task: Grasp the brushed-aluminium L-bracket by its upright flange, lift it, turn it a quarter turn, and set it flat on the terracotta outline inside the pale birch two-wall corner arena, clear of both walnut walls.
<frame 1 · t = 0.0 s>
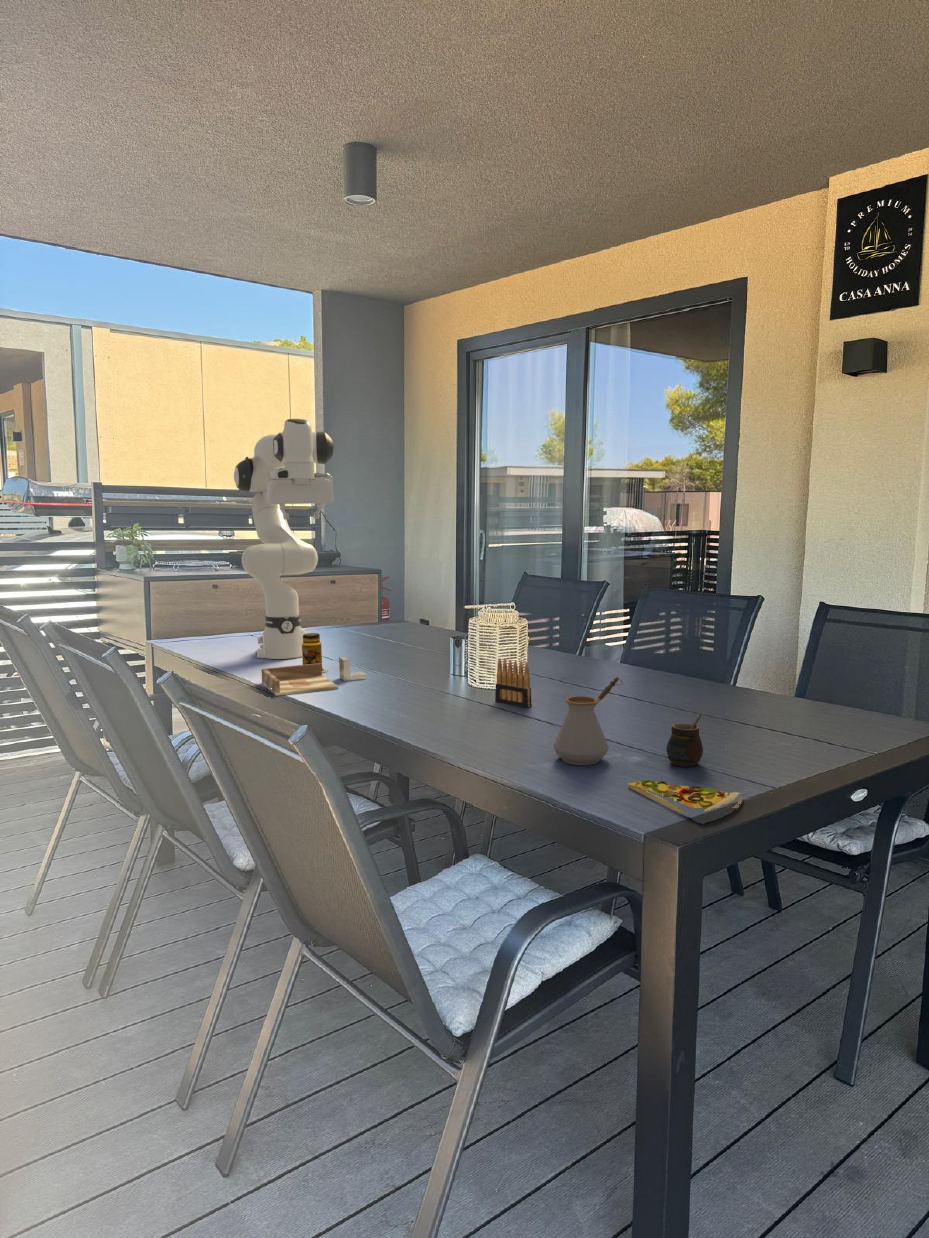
hand: (301, 519, 258), 48 cm above the table, fingers open, 8 cm apart
mate gourd: (684, 764, 174), on the table
bracket: (353, 678, 256), on the table
pizza slice: (677, 803, 154), on the table
ammunition clip: (513, 705, 223), on the table
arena: (299, 685, 247), on the table
coffee pot: (593, 754, 181), on the table
condiment: (312, 671, 268), on the table
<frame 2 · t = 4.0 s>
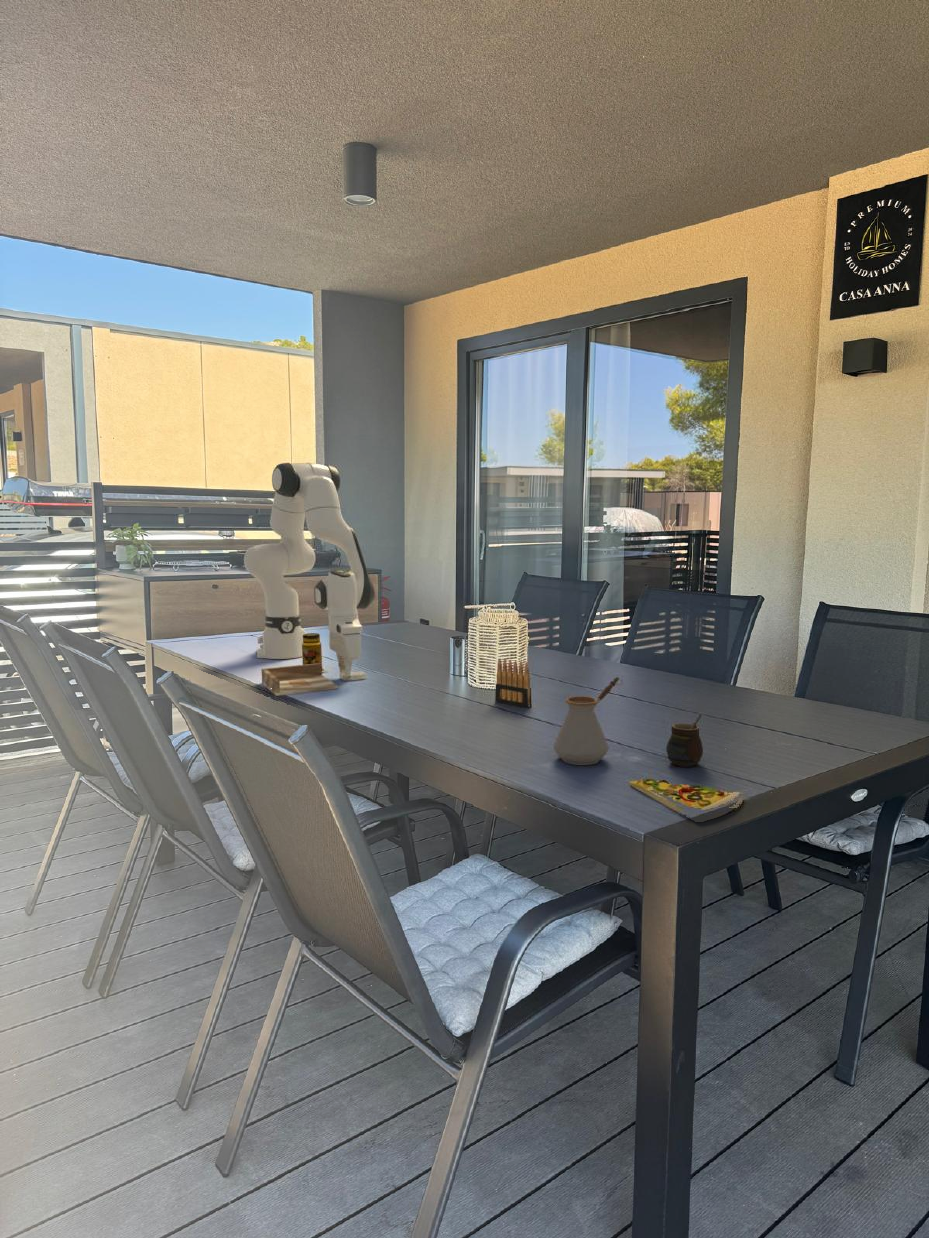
hand: (344, 669, 254), 3 cm above the table, fingers closed on bracket, 4 cm apart
bracket: (353, 678, 256), on the table, touching gripper
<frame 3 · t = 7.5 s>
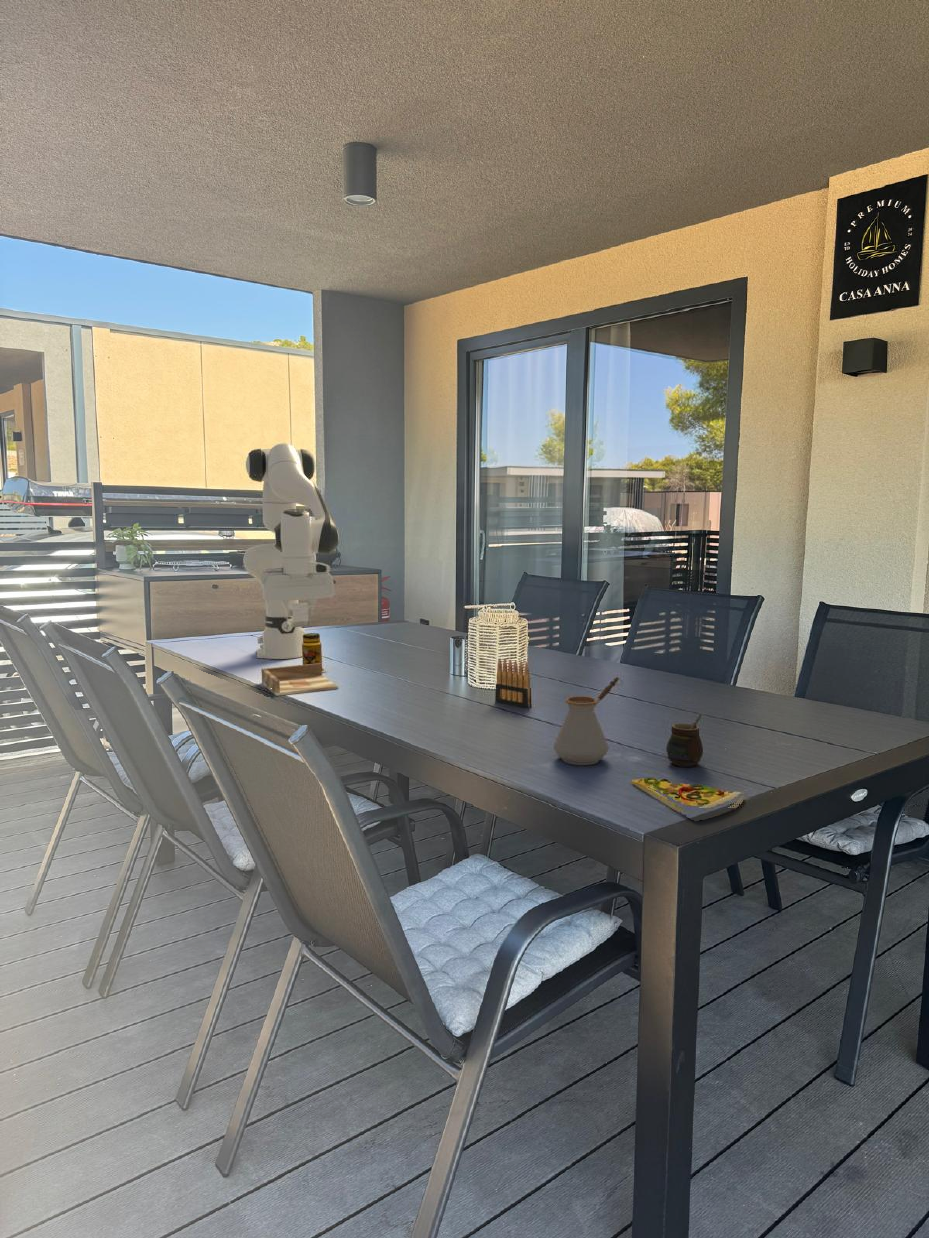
hand: (299, 615, 241), 21 cm above the table, fingers closed on bracket, 4 cm apart
bracket: (298, 625, 244), point 18 cm above the table, touching gripper
when the fingers open (5 cm above the table, at t = 11.0 s): bracket stays where it is, resting on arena.
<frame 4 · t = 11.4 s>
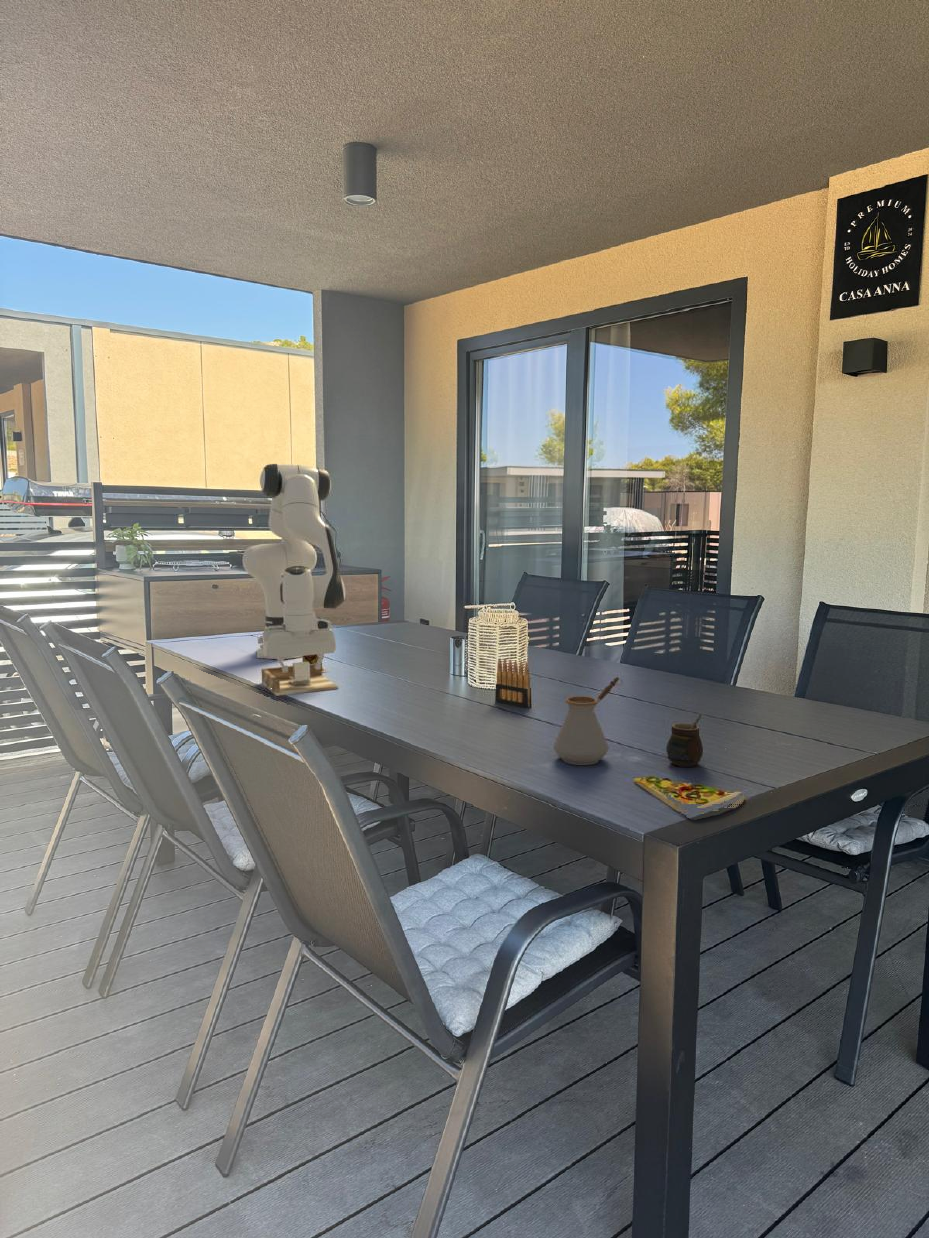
hand: (301, 670, 244), 5 cm above the table, fingers open, 8 cm apart
bracket: (299, 683, 247), point 1 cm above the table, touching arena
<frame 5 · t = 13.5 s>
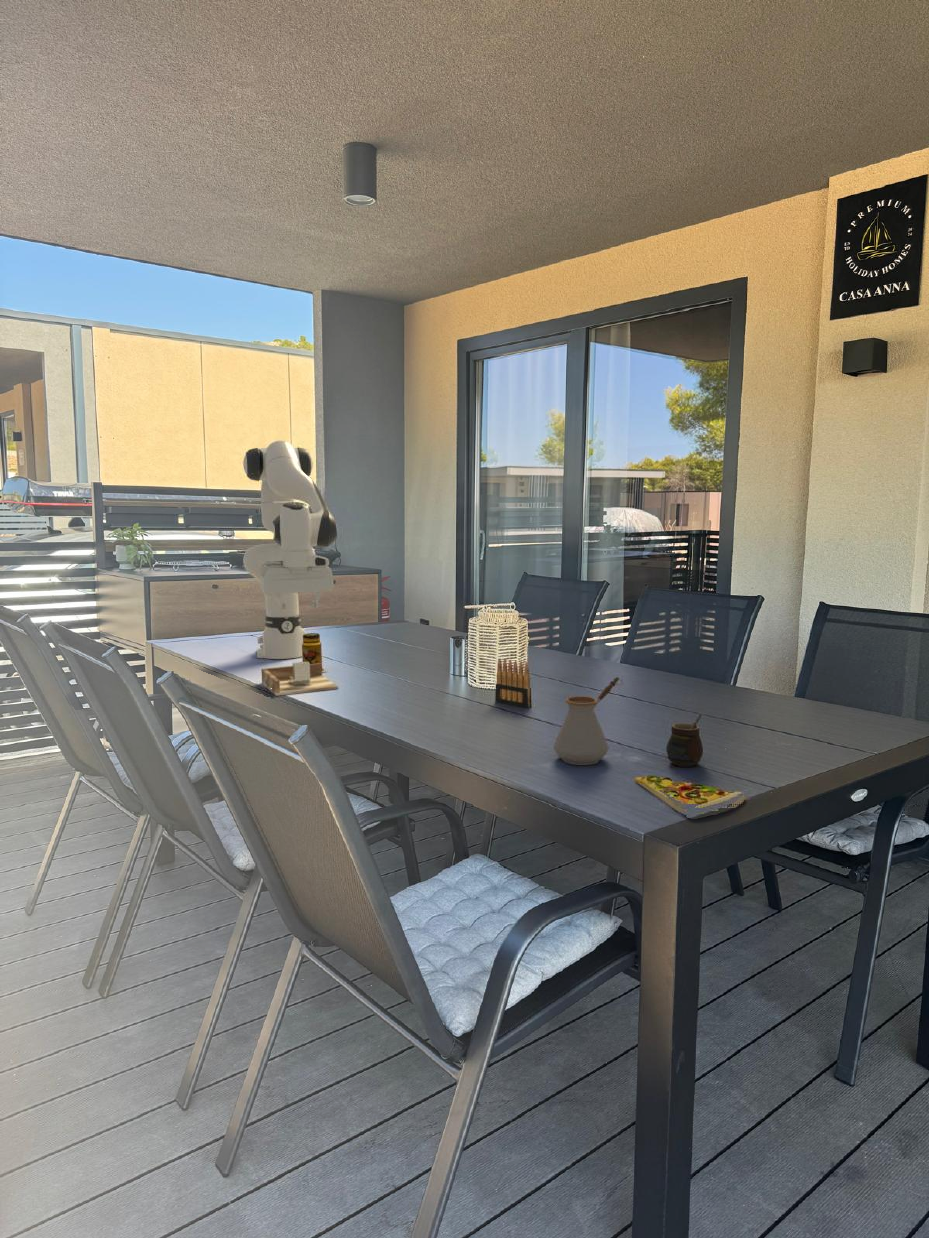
hand: (298, 608, 242), 23 cm above the table, fingers open, 8 cm apart
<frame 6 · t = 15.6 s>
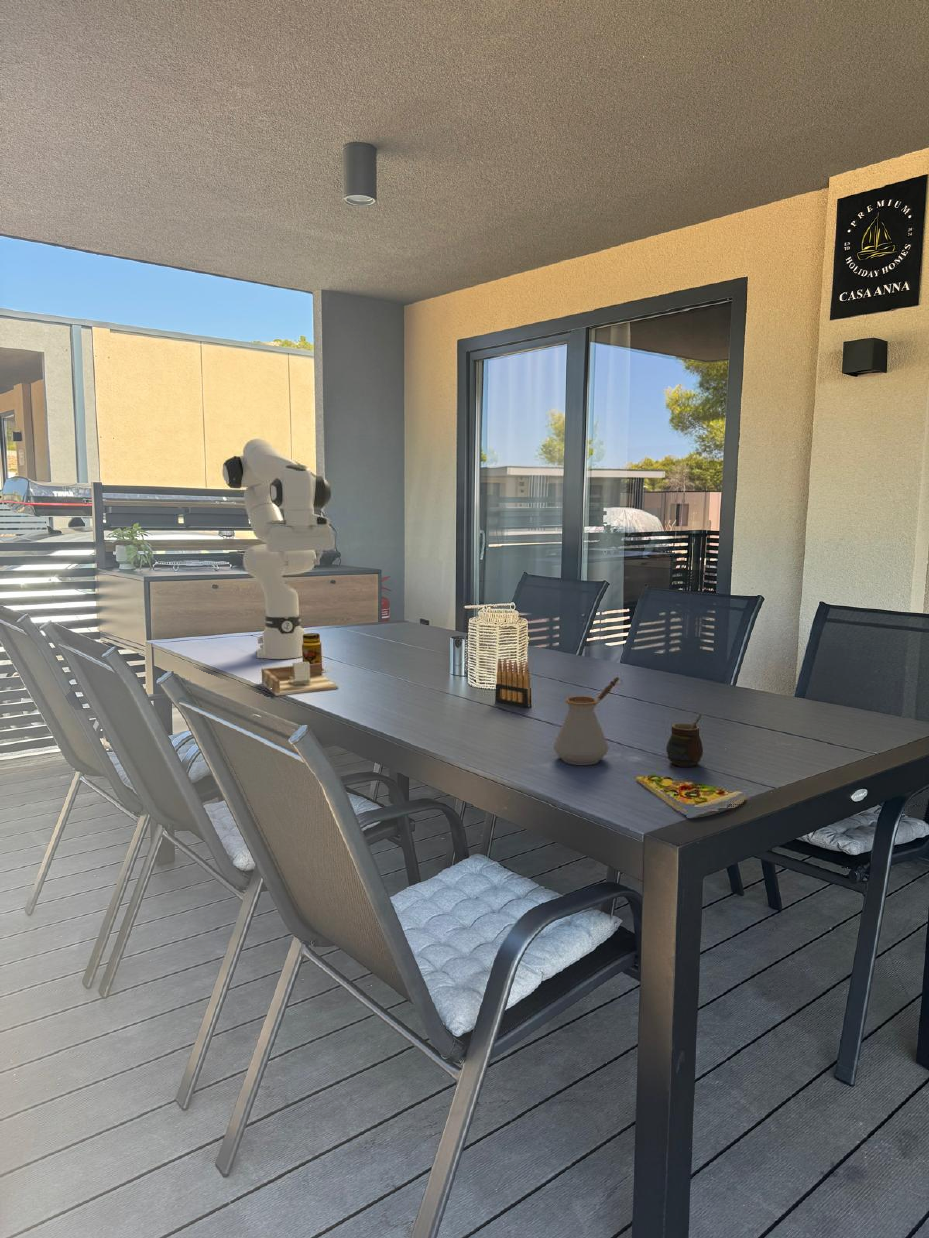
hand: (301, 565, 255), 34 cm above the table, fingers open, 8 cm apart
at the end: bracket inside the target area on the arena (1.6 cm from its centre), point 0.9 cm above the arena's base; bracket tilted 0°; the gripper is holding nothing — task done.
